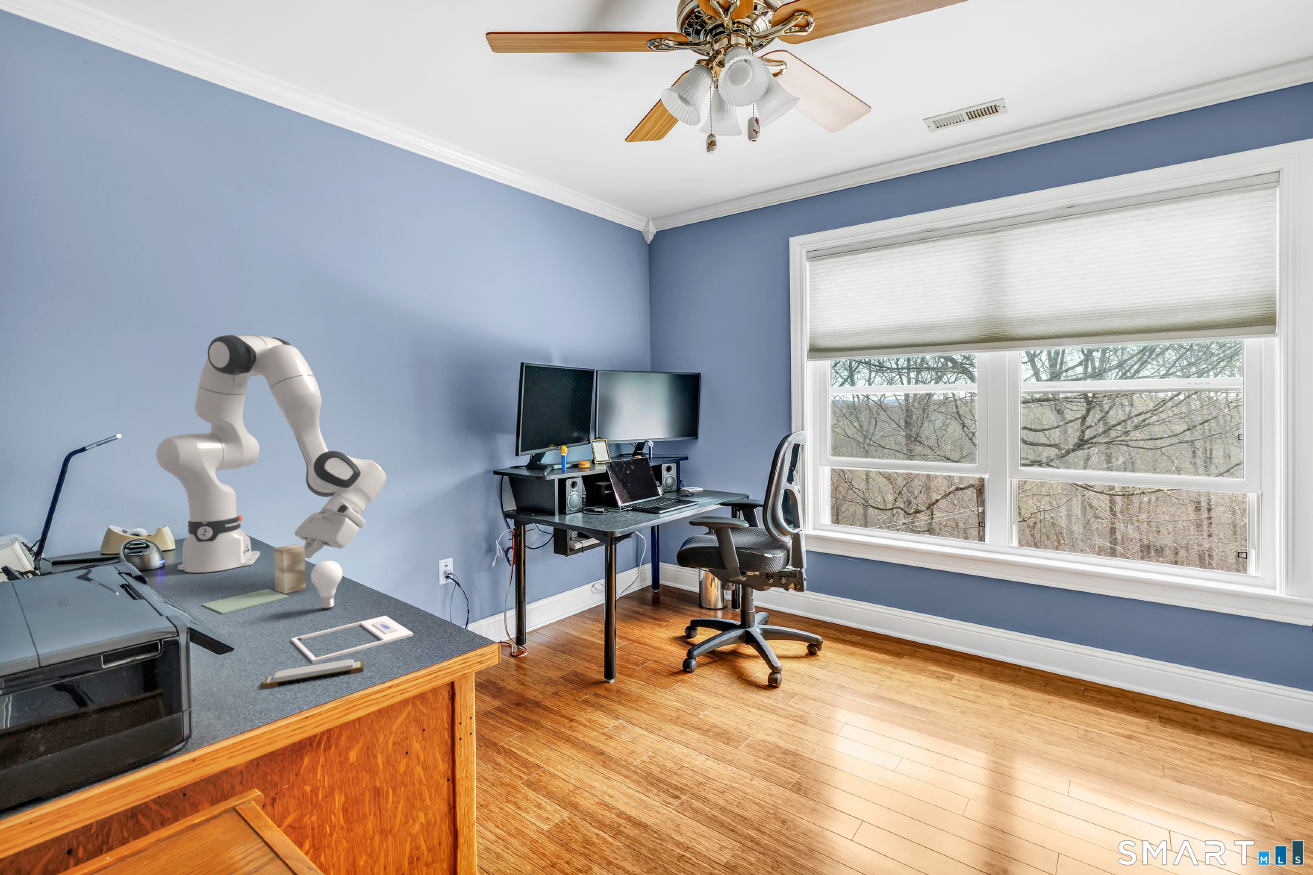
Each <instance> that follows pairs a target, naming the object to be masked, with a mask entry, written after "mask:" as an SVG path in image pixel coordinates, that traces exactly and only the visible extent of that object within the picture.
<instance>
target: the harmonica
mask: <svg viewBox="0 0 1313 875" xmlns="http://www.w3.org/2000/svg"><path fill="white" fill-rule="evenodd" d="M363 672H364V661H363V660H360V661H359V660H358V661H355V660H354V659H344V660H337V661H330V662H325V663H320V664H313V665H308V666H307V665H306V666H301V667H295V668H289V669H283V670H278V671H276V672H274V675H270V676H267V677H265V679H264V682H263V683H262V688H263V690H265V689H272V688H276V687H281V685H282V683H284V684H285V686H287V685H289V682H292V684H293V685H294V684H296V682H297V681H299V683H303V680H306V682H310V679H311V678H313V680H314V681H315V680H316V681H317V678H318V677H320V679H322V680H323V679H324V677H325V676H327V678H328V679H329V678H331V675H334V677H338V674H340V675H341V676H344V674H345V673H347V675H351V674H358V673H363Z"/></svg>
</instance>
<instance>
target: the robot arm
mask: <svg viewBox="0 0 1313 875" xmlns="http://www.w3.org/2000/svg"><path fill="white" fill-rule="evenodd" d="M258 376H264V378H265V380H266V382H267V385H268V387H269V389H270V392H271V394H272V396H273V397H274V400H275V402H276V404H277V406H278V407H279V409H280V411H281V412H282V414H283V415H284V416H283V417H285V419H286V422H287V423H288V425H289V427H290V429H291V430H292V432H293V434H294V437H295V440H296V441H297V444H298V447H299V450H300V451H301V454H302V457H303V459H304V462H305V466H306V471H305V472H306V474H305V483H306V485H307V488H308V489H309V491H310V492H312V494H314V495H316V496H318V497H321V498H322V497H323V498H324V497H325V498H328V497H330V498H329V499H328V501H327V502H326V503H325V504H324V505H323V506H322V508H321V510H320V511H318V512H314V513H312V514H310V515H309V516H308V517H307V518H306V519H305V520H304V521H303V522H302V523H300V525H298V527H297V528H296V530H295V532H294V535H295V536H296V537H297V538H298V539H300V540H301V541H304V542H305V543H304V545H303V546H304V547H305V559H312V557H313V556H314V555H315V554H316V553H318V552H319V551H321V550H322V549H323V548H324V546H325V547H329V548H330V547H331V548H334V549H339V550H341V549H343V548H345V547H346V546H347V545H348V544H349V543H350V542H351V541H352V540H353V538H355V536H356V535H357V533H358V532H359V530H360V529H361V528H363V527H364V526H366V524H367V521H366V520H365V519H364V518H363V517H362V515H363V513H364V511H365V509H366V507H367V506H368V505H369V504H370V503H371V502H373V501H374V500H375V498H376V497H377V495H378V494H379V493H380V492H381V491H382V489H383V488H384V486H385V484H386V481H387V474H386V471H385V469H384V468H383V467H382V466H381V465H380V464H379V463H377V462H376V461H375V460H373V459H362V458H355V457H352V456H350V455H347V454H345V453H343V452H341V451H337V450H329V449H328V447H327V444H326V442H325V440H324V438H323V437H324V436H323V435H322V432H321V429H320V414H321V408H322V401H323V400H322V395H321V392H320V388H319V383H318V381H317V379H316V377H315V375H314V373H313V371H312V369H311V367H310V365H309V364H308V362H307V361H306V359H305V357H304V356H303V354H302V353H301V352H300V351H299V349H298V348H296V347H295V346H293V345H292V344H291V343H289V342H288V341H286V340H285V339H282V338H278V337H270V336H263V335H254V334H252V335H251V334H250V335H234V334H227V335H220V336H218V337H215V338H214V339H212V340H211V342H210V344H209V345H208V348H207V357H206V360H205V362H204V365H203V368H202V370H201V374H200V378H199V382H198V388H197V392H196V398H195V403H194V411H195V413H196V415H197V417H199V418H200V419H201V420H203V421H205V422H206V423H209V424H210V427H211V428H210V432H208V433H185V434H180V435H179V434H178V435H175V436H174V435H173V436H170V437H166V438H164V439H162V440H161V442H160V443H159V444H158V446H157V448H156V451H155V452H156V454H155V456H156V461H157V463H158V464H159V466H160V468H162V469H163V470H164V471H165V472H167V473H170V474H171V475H173V476H174V477H176V479H177V480H178V481H179V482H180V484H181V485H182V486H183V488H184V490H185V492H186V495H187V502H188V511H189V521H187V529H188V530H187V531H188V532H187V533H188V534H189V535H188V537H186V538H185V539H184V540H183V544H182V548H183V549H182V564H179V565H177V570H180V571H184V572H186V573H197V574H198V573H211V572H219V571H225V570H231V569H235V568H238V567H244V566H245V567H246V566H250V565H253V564H254V563H255V561H256V560H257V559H258V558H259V557H260V555H261V552H260V551H258V550H252V545H251V538H250V537H249V536H248V535H247V534H246V533H245V532H244V531H243V530H242V529H241V523H242V522H243V516H242V514H240V515H238V509H237V506H238V505H237V493H236V491H235V490H234V489H233V487H231V486H230V485H228V484H225V483H222V482H220V481H219V479H218V478H217V474H216V471H225V470H226V471H227V470H228V471H229V470H237V469H240V468H244V467H248V466H250V465H253V464H254V463H256V461H257V460H258V459H259V456H260V450H261V449H260V448H261V447H260V445H259V442H258V440H257V439H256V438H255V437H254V436H253V435H252V434H250V433H249V432H248V430H247V429H246V426H245V423H244V408H245V401H246V394H247V389H248V382H249V379H250V378H251V377H258Z"/></svg>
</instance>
